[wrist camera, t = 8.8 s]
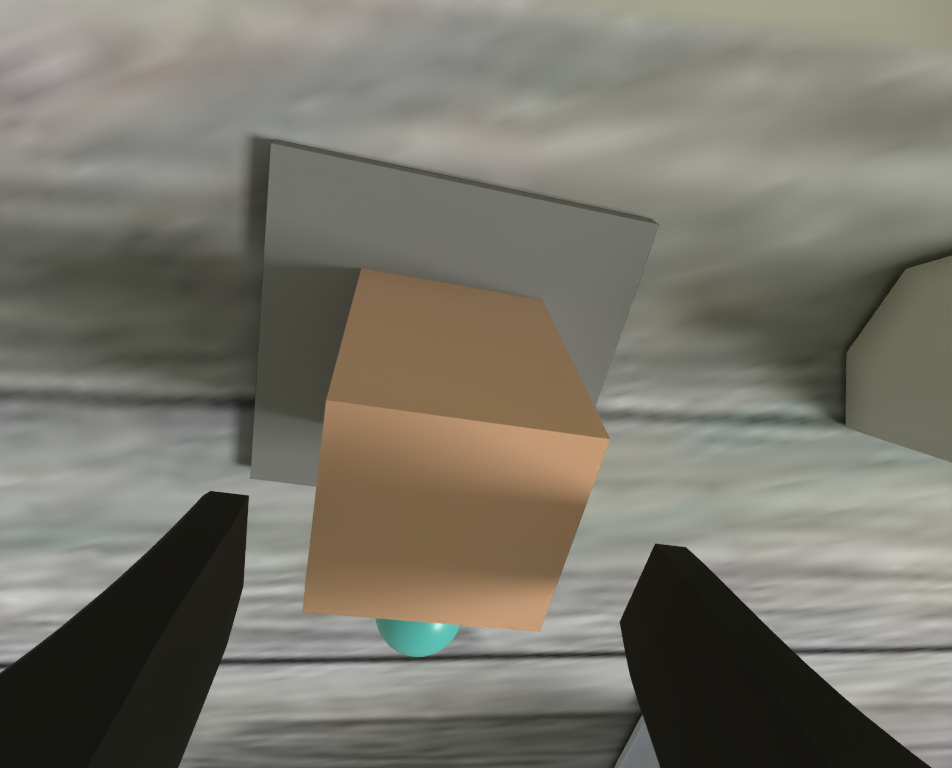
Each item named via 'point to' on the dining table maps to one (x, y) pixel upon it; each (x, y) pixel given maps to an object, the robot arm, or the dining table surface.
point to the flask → (906, 364)
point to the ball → (416, 636)
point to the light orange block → (449, 458)
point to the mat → (416, 275)
